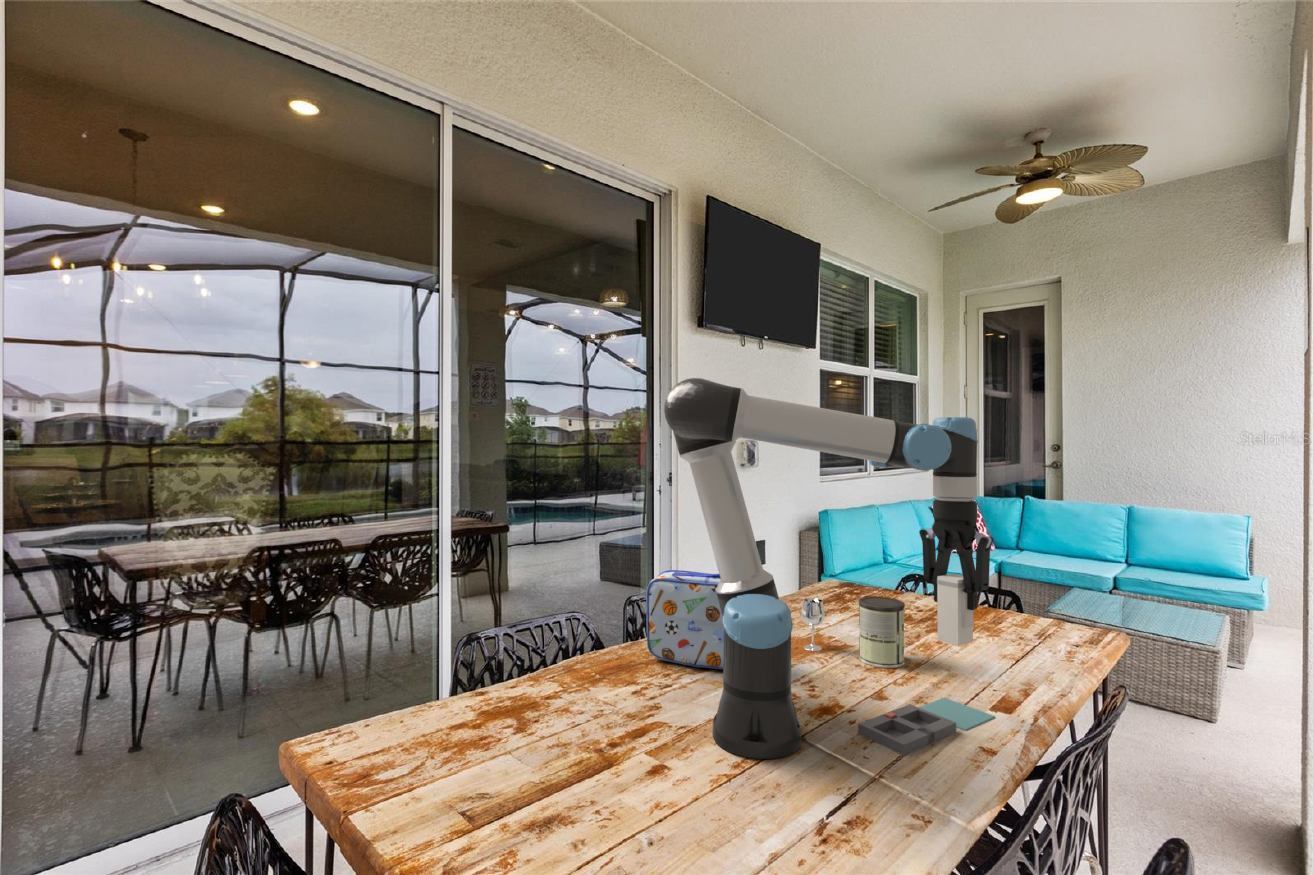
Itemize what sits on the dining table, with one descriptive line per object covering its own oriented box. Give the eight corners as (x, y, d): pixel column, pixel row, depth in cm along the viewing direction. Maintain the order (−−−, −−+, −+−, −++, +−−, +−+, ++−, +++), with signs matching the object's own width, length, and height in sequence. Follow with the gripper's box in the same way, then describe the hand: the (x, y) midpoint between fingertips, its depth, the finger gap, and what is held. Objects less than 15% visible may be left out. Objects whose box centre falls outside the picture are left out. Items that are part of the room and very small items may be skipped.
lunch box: (766, 663, 143) (767, 569, 143) (759, 679, 133) (760, 577, 133) (655, 649, 152) (656, 560, 152) (641, 663, 142) (642, 568, 142)
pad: (965, 735, 108) (965, 729, 108) (914, 714, 116) (914, 709, 116) (995, 721, 113) (995, 716, 113) (944, 702, 121) (944, 697, 121)
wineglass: (808, 652, 150) (808, 603, 151) (796, 645, 156) (797, 598, 156) (829, 651, 152) (829, 602, 152) (816, 643, 158) (817, 597, 158)
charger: (958, 646, 112) (957, 580, 112) (937, 640, 115) (936, 576, 115) (973, 641, 114) (973, 577, 115) (952, 635, 118) (952, 573, 118)
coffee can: (854, 652, 151) (854, 595, 151) (897, 654, 150) (897, 596, 150) (864, 667, 141) (864, 606, 141) (910, 669, 140) (910, 607, 140)
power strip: (904, 760, 99) (904, 743, 99) (858, 738, 106) (858, 721, 106) (956, 737, 107) (956, 720, 107) (910, 717, 114) (910, 702, 114)
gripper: (1011, 501, 110) (1012, 631, 110) (925, 495, 124) (925, 610, 124) (989, 503, 106) (990, 638, 106) (902, 496, 120) (902, 615, 120)
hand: (955, 623), depth 115 cm, fingers closed on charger, 4 cm apart
